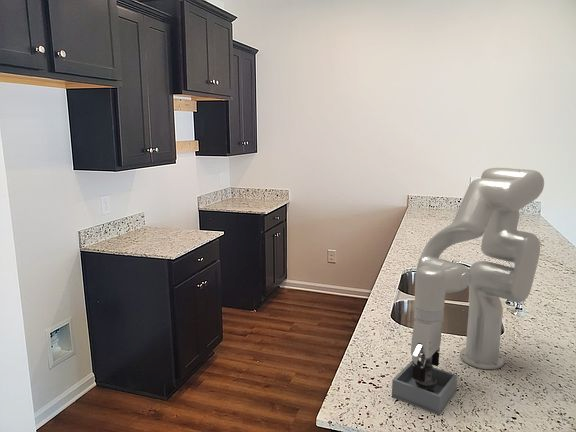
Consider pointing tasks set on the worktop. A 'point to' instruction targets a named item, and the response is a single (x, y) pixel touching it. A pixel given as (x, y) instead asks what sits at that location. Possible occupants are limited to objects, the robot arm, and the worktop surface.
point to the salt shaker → (427, 377)
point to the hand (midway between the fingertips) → (425, 371)
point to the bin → (427, 400)
